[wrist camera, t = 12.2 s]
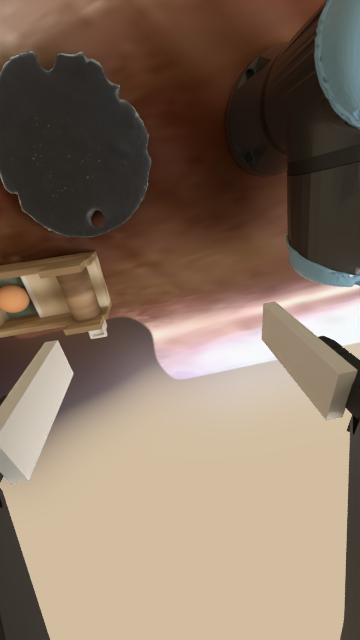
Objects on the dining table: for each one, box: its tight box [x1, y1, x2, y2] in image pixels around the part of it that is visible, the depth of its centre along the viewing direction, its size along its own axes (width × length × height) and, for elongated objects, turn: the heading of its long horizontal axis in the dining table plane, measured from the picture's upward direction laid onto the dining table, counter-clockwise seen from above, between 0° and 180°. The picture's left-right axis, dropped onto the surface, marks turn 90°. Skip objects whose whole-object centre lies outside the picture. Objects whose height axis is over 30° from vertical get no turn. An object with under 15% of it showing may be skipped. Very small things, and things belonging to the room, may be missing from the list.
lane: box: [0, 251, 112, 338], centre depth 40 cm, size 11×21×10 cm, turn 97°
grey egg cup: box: [88, 320, 107, 339], centre depth 47 cm, size 3×3×4 cm
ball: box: [0, 285, 30, 313], centre depth 41 cm, size 5×5×5 cm
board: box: [0, 51, 151, 238], centre depth 34 cm, size 22×22×5 cm
